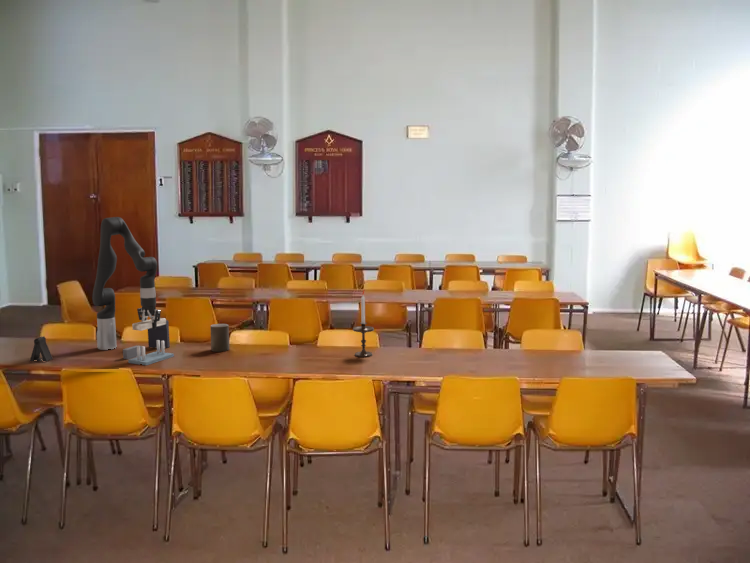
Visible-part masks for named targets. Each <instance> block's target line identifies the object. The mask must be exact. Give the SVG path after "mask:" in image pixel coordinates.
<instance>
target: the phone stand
mask: <svg viewBox="0 0 750 563" xmlns="http://www.w3.org/2000/svg"><path fill="white" fill-rule="evenodd" d="M46 338H47V337H45V335H44V336H39V337H37V338H34V340H33V343H34V344H33V347H32V348H33V349H32V353H31V356H30V359H29V362H30V361H34V360H37V361H42V360H43V361H47V362H49V361H51V360H53V356H52V353H51V351H50V349H49V346H48V343H47V341H46V340H47V339H46ZM41 359H42V360H41ZM48 360H49V361H48Z"/></svg>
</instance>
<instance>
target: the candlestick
mask: <svg viewBox="0 0 750 563" xmlns="http://www.w3.org/2000/svg"><path fill="white" fill-rule="evenodd" d="M364 293H365V289H363V291H362V293H361V295H362V296H361V298H360V300H361V301H360V303H361V304H360V305H361V310H360V311H361V317H360V318H361V322H359V324H360V325H359V326H353V328H352V331H353V332H357V333H361V337H362V338H361V340H360V343H361V345H360V346H361V348H362V349H361V351H357V352H355V353H354V357H357V358H369V357H372V356H373V353H372V352H371V351H366V347H367V345H366V343H367V340H366V335H365V334H366V333H369V332H374V331H375V328H374V326H369V325H367V324H368V322H366V297H365V294H364Z"/></svg>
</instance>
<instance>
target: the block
mask: <svg viewBox="0 0 750 563" xmlns="http://www.w3.org/2000/svg"><path fill="white" fill-rule="evenodd" d="M137 346H140V355H141V356H142V345H133V346H130V347H126V348H123V349H122V358H123V360H130V359H133V358H136V357H137Z"/></svg>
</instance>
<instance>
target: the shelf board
mask: <svg viewBox="0 0 750 563" xmlns="http://www.w3.org/2000/svg"><path fill="white" fill-rule="evenodd" d="M157 319H158V317H157ZM166 320H167V319H166V318H165V317H160V321H157V326H161V325H165V324H166ZM152 323H153V322H152V320H151V319H150V318H149V319H147V320H146V321H142V320H141V321H139V322H134V323H132V330H133V331H145V330H148V329H149V328H152Z"/></svg>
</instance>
